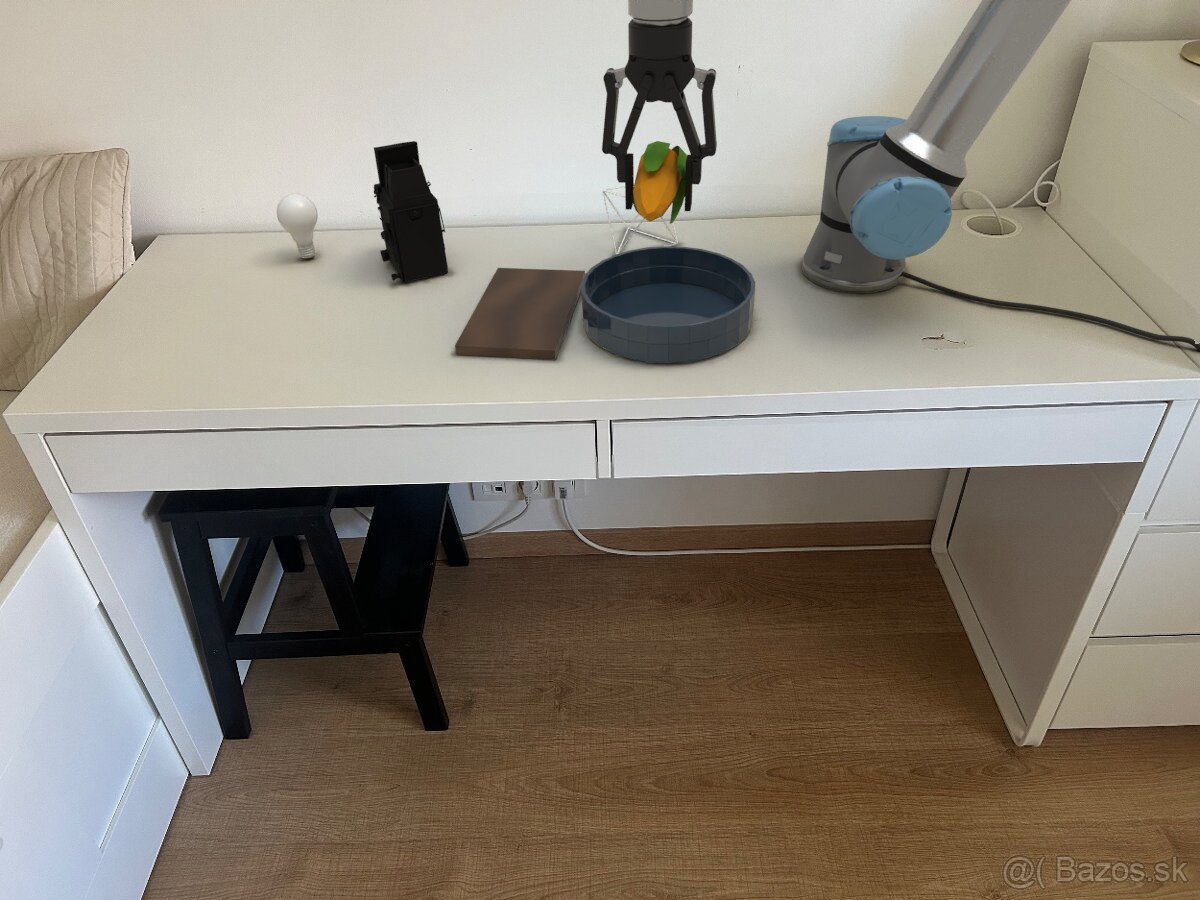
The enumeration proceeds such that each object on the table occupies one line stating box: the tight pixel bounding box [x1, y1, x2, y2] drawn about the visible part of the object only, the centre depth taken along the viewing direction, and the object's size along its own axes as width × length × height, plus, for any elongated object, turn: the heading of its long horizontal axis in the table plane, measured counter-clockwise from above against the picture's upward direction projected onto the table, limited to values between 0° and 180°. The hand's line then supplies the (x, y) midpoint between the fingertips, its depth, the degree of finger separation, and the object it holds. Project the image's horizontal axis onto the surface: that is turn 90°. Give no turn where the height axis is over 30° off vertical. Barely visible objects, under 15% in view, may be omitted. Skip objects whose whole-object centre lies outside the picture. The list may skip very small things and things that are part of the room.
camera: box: [373, 140, 449, 284], centre depth 141 cm, size 10×14×20 cm
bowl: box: [580, 245, 756, 364], centre depth 127 cm, size 24×24×6 cm
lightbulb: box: [276, 193, 319, 260], centre depth 147 cm, size 6×6×11 cm
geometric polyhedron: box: [601, 185, 679, 255], centre depth 147 cm, size 12×11×9 cm
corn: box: [633, 140, 688, 225], centre depth 117 cm, size 7×8×20 cm
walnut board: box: [454, 267, 586, 361], centre depth 132 cm, size 14×24×2 cm, turn 171°
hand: (658, 206), depth 119 cm, fingers closed on corn, 7 cm apart
